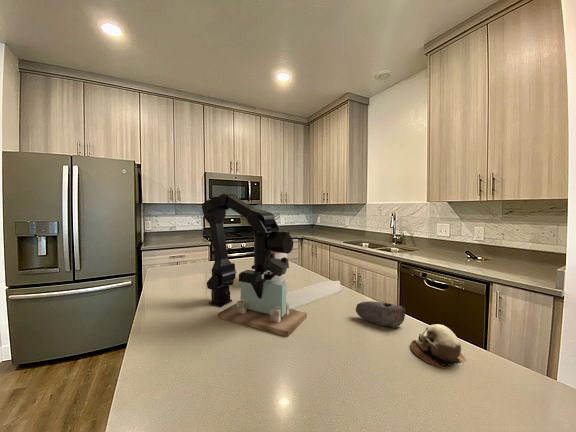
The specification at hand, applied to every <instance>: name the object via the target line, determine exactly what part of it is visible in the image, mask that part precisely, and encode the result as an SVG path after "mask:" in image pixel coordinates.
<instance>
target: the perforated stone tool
mask: <svg viewBox="0 0 576 432" xmlns="http://www.w3.org/2000/svg"><path fill="white" fill-rule="evenodd" d="M355 312H356V314H357V316H359V318H361V319H362V320H365V321H366V322H371V323H372V324H376V325H379V326H382V327H391V328H393V329H394V328H397V327H399V326H401V325H402V324H403V323H404V321H405V317H406V309H405V308H404V306H402V305H397V304H393V303H388V302H382V301H376V300H375V301H373V300H372V301H369V300H368V301H362V302H359V303H357V304H356V307H355Z"/></svg>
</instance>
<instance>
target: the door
mask: <svg viewBox="0 0 576 432" xmlns="http://www.w3.org/2000/svg"><path fill="white" fill-rule="evenodd" d="M286 293H287V282H285V281H284V282H279V281H273V280H266V281H265V282H264V283H263V291H262V298H261V299H260V298H258V297H257V294H256V292H255V290H254V288H253V286H252V285H251V283H246V282H240V301H243V302H246V309H251V310H255V311H259V312H263V313H267V314H270V309H272V308H274V309H279V310H281V317H282V316H284V315H285V314H286Z"/></svg>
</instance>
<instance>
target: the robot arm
mask: <svg viewBox="0 0 576 432" xmlns="http://www.w3.org/2000/svg"><path fill="white" fill-rule="evenodd" d="M229 209H230V210H232V211H234V212H235V213H236V214H239V216H240V215H241V216H242V218H245V219H246V221H247V224H248V225H249V226H250V227H252V231H251V232H250V233H249V236H251V237H254V239H253V240H254V241H253V245H254V246H253V247H254V248H253V249H254V250H253V252H252V253H251V257H253V265H251V269H245V270H243V271H240V272H239V274H238V282H240V283H241V282H246V283H251V285H252V286H253V288H254V290H255V292H256V294H257V297H258V298H260V299H261V298H262V291H263V283H264V282H265V281H266V280H272V279H273V278H274V277H275V276H276V275H277V276H281V275H283V274H285V273H286V274H287V272H286V270H287V271H288V269H289V268H290V263H289V258H288V257H287V258H286V257H284V258H282V259H281V260H280V259H276V258H275V254H274V253H272V252H279V253H286V254H287V255H288V254H290V253H291V252H292V251H293V248H294V240H293V237H292V236H291V235H290V231H287V230H286V231H282V230H281V228H280V226H279V224H278V223H277V221H276V219H275V214H273V213H272V212H270V211H268V210H264V209H259V208H256V207H254V206H253V205H250V204H249V203H247V202H245V201H244V200H241V198H239V197H237V196H235V194H232V193H223V194H220V195H218V196H216V197H213V198H210V199H207V200H204V202H203V204H202V205H201V211H202V215H203V218H204V219H205V220H206V222H207V223H208V224H209V230H210V235H211V237H210V238H211V244H212V249H213V258H214V263H213V265H212V268H211V277H210V278H209V279H208V280H207V282H206V286H207V287H206V288H207V289H209V290H211V291H210V292H211V300H210V301H208V305H213V306H216V307H220V308H221V307H224V306H225V305H228V304H230V303H232V302H233V299H231V290H230V286H233V285H234V282H235V279H236V274H237V271H236V264H235V262H231V261H230V259H229V255H228V249H227V242H226V235H225V234H226V233H225V229H224V220H225V218H226V213H227V212H226V211H228V210H229Z"/></svg>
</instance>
